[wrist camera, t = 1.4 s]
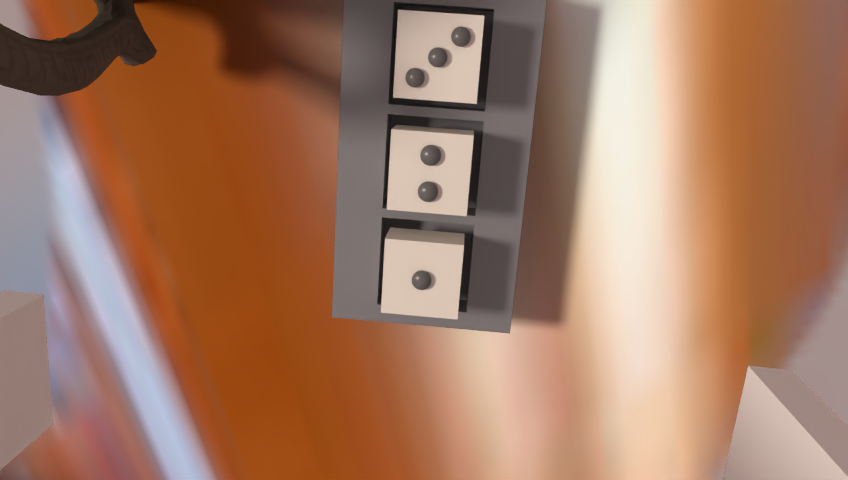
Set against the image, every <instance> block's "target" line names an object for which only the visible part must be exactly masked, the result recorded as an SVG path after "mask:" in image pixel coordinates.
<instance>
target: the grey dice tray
mask: <svg viewBox="0 0 848 480" xmlns="http://www.w3.org/2000/svg"><path fill="white" fill-rule="evenodd" d="M546 3H547V0H344V10H343V37H342V64H341V90H340V117H339V144H338V171H337V198H336V225H335V252H334V278H333V305H332V317H336V318H347V319H358V320H369V321H380V322H391V323H402V324H413V325H424V326H435V327H446V328H457V329H468V330H479V331H490V332H501V333H510V327H511V318H512V309H513V300H514V291H515V282H516V273H517V264H518V255H519V246H520V237H521V228H522V219H523V210H524V201H525V192H526V183H527V174H528V165H529V156H530V147H531V138H532V129H533V120H534V111H535V102H536V93H537V84H538V75H539V66H540V57H541V48H542V39H543V30H544V21H545V12H546ZM398 10H410V11H425V12H439V13H453V14H468V15H482V16H484V26H483V38H482V49H481V60H480V71H479V83H478V94H477V104H472V103H458V102H445V101H432V100H419V99H405V98H393V90H394V73H395V55H396V38H397V20H398ZM395 125H408V126H421V127H434V128H447V129H460V130H473V131H474V139H473V150H472V162H471V173H470V184H469V195H468V207H467V216H457V215H445V214H433V213H421V212H409V211H397V210H387V195H388V178H389V160H390V143H391V129H392V128H393V127H394V126H395ZM390 227H393V228H405V229H416V230H428V231H440V232H452V233H464V252H463V263H462V274H461V285H460V297H459V308H458V319H446V318H435V317H424V316H413V315H401V314H390V313H381V300H382V283H383V265H384V248H385V238H386V236H387V233H388V231H389V229H390Z"/></svg>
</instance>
